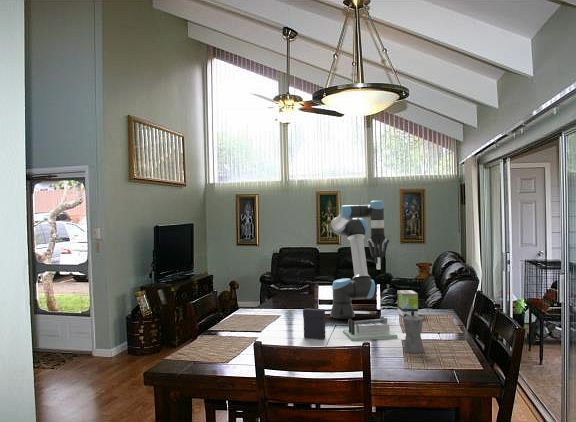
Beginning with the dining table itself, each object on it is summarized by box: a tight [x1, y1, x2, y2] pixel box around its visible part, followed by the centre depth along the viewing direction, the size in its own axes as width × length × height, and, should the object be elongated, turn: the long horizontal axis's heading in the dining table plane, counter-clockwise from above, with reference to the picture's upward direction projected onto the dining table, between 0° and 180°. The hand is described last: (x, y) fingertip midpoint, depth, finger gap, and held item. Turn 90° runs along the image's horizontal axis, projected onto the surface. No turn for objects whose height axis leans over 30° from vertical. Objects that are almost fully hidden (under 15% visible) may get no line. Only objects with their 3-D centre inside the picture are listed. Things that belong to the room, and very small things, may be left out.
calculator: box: [302, 308, 327, 341], centre depth 253 cm, size 11×4×15 cm, turn 65°
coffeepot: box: [402, 311, 424, 354], centre depth 227 cm, size 15×9×18 cm, turn 13°
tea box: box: [396, 289, 419, 318], centre depth 309 cm, size 15×10×15 cm
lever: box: [353, 318, 383, 325], centre depth 257 cm, size 18×3×2 cm, turn 99°
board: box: [342, 329, 398, 342], centre depth 257 cm, size 24×18×2 cm
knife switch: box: [347, 315, 391, 336], centre depth 257 cm, size 19×12×8 cm, turn 99°
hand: (378, 269), depth 278 cm, fingers closed
